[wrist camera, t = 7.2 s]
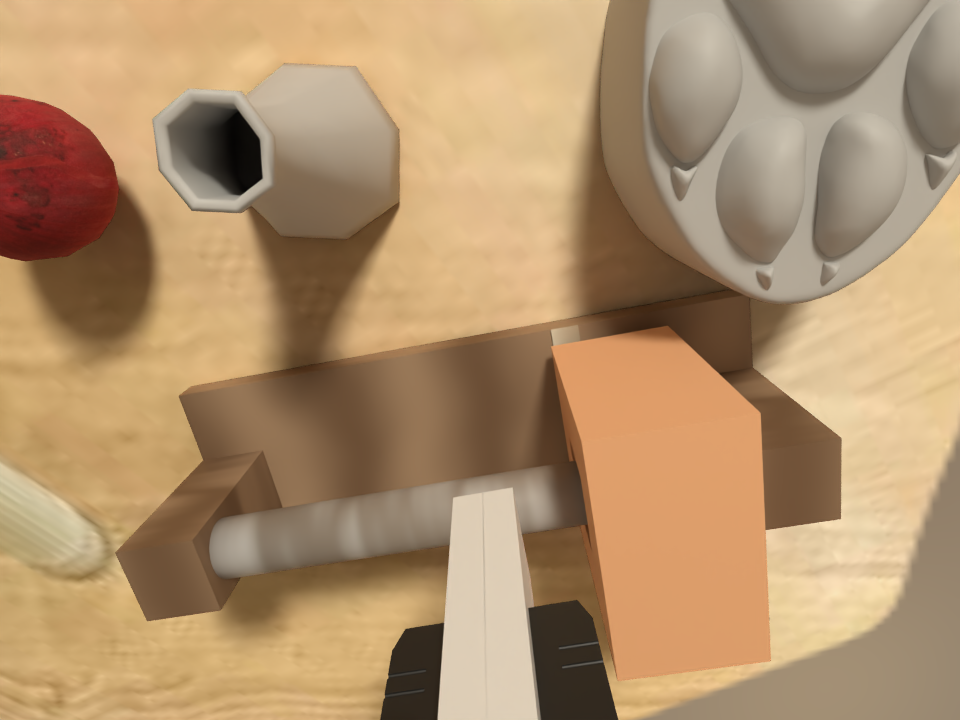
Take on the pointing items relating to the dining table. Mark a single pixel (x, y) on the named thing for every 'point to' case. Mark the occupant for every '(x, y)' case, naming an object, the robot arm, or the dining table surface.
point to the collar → (668, 502)
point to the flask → (285, 151)
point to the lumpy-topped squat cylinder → (781, 133)
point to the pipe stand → (426, 452)
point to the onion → (50, 182)
